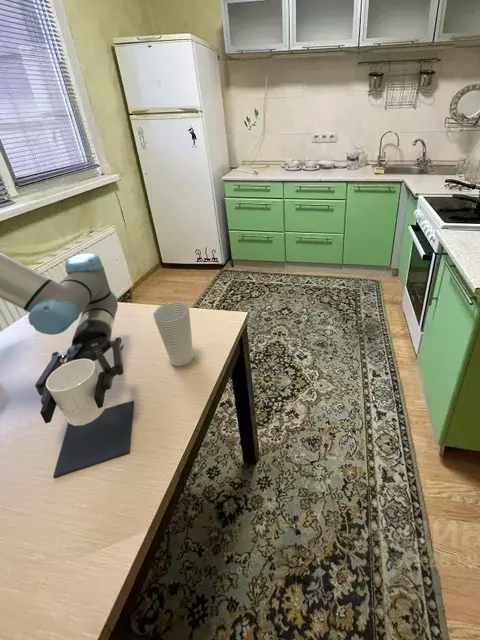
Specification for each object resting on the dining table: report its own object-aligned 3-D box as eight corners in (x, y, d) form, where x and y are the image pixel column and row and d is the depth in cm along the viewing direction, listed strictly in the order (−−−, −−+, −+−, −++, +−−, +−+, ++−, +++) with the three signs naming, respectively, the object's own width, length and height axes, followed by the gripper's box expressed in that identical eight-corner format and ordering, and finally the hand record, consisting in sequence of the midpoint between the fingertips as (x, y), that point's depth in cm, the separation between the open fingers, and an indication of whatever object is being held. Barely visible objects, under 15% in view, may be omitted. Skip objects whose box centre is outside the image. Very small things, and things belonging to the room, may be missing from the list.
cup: (175, 345, 92) (165, 300, 85) (203, 349, 90) (194, 302, 83) (159, 367, 84) (146, 319, 78) (189, 372, 83) (178, 323, 76)
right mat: (53, 478, 60) (52, 476, 60) (69, 420, 71) (69, 418, 71) (129, 453, 64) (129, 451, 64) (133, 401, 75) (133, 400, 75)
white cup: (97, 389, 69) (83, 353, 65) (117, 406, 65) (103, 369, 61) (57, 415, 63) (38, 378, 59) (75, 437, 59) (57, 398, 55)
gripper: (143, 334, 82) (139, 406, 62) (49, 356, 76) (12, 443, 56) (136, 310, 78) (129, 377, 59) (37, 330, 72) (-6, 413, 53)
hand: (72, 409), depth 58 cm, fingers closed on white cup, 8 cm apart
